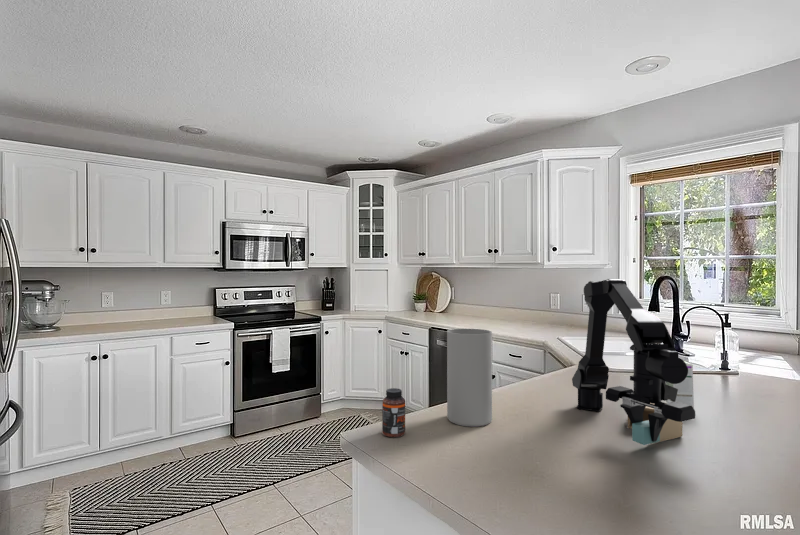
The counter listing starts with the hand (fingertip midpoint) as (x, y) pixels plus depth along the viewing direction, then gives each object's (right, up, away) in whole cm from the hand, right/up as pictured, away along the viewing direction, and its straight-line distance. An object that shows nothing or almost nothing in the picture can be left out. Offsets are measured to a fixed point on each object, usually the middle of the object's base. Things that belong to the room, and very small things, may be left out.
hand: (647, 438), depth 102 cm
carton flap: (+5, -2, +2) cm, 6 cm away
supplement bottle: (-60, -3, +9) cm, 61 cm away
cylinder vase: (-39, -3, +20) cm, 44 cm away
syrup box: (+27, -3, +30) cm, 40 cm away
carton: (+10, -3, +14) cm, 17 cm away
